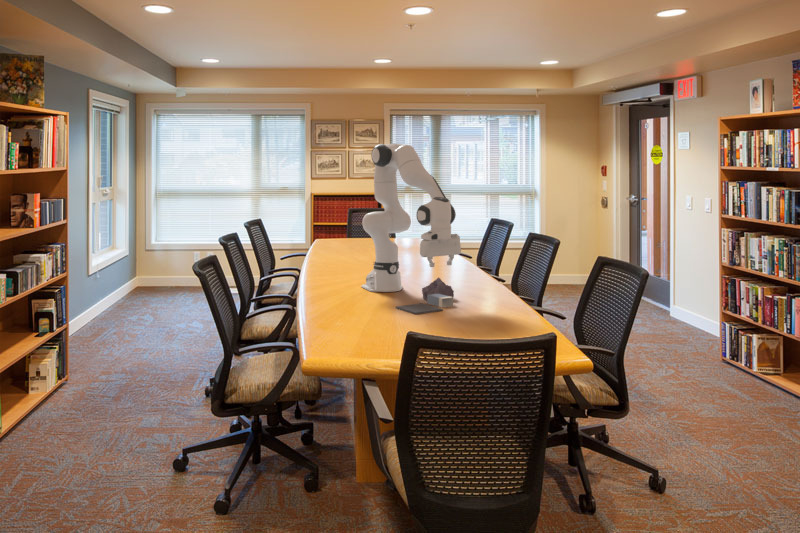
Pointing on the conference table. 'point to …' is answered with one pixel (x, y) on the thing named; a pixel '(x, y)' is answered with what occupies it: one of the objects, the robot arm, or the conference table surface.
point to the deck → (440, 300)
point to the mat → (418, 308)
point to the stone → (437, 289)
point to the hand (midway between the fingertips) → (440, 266)
